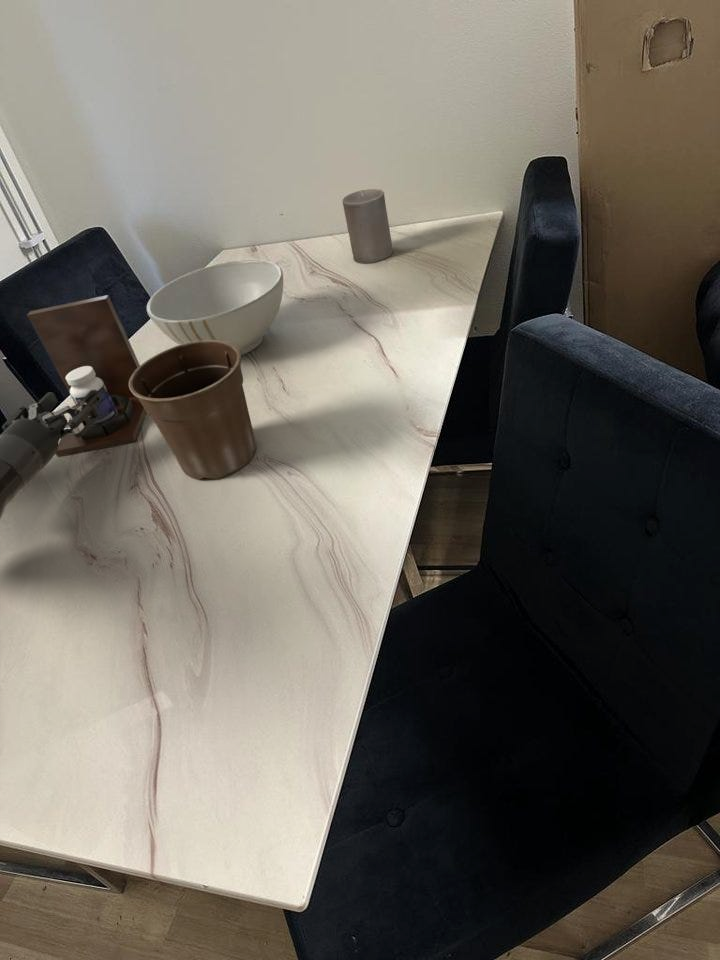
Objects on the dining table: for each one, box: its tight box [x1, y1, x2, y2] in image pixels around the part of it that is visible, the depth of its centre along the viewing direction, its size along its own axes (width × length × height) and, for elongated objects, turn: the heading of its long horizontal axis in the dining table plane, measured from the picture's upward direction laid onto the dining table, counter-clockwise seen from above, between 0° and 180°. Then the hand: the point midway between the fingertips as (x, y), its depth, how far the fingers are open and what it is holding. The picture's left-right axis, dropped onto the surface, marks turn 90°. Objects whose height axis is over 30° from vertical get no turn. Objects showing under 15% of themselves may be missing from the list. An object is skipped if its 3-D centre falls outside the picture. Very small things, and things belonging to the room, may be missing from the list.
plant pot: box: [129, 340, 257, 481], centre depth 99 cm, size 16×16×16 cm
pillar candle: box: [342, 188, 394, 264], centre depth 153 cm, size 10×10×15 cm
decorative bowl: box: [146, 259, 284, 356], centre depth 131 cm, size 27×27×12 cm
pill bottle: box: [66, 366, 119, 426], centre depth 114 cm, size 6×6×10 cm
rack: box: [26, 294, 148, 457], centre depth 113 cm, size 14×15×20 cm
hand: (74, 395), depth 111 cm, fingers open, 8 cm apart
